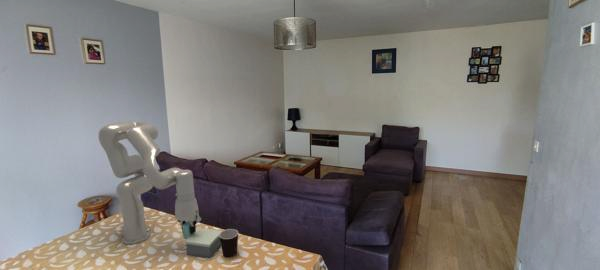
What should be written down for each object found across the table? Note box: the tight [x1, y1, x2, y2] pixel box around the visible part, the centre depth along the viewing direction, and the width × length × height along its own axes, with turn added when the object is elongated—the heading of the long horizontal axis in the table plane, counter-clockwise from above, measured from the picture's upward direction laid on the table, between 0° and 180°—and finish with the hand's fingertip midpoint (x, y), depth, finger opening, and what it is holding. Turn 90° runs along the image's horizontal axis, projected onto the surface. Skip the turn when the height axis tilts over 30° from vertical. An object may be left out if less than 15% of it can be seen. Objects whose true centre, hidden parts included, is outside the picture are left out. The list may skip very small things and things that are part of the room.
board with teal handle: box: [181, 221, 223, 247], centre depth 131 cm, size 16×12×7 cm
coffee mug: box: [219, 228, 239, 259], centre depth 130 cm, size 12×9×10 cm
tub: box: [185, 237, 222, 259], centre depth 132 cm, size 12×11×6 cm
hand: (189, 231), depth 133 cm, fingers open, 3 cm apart
